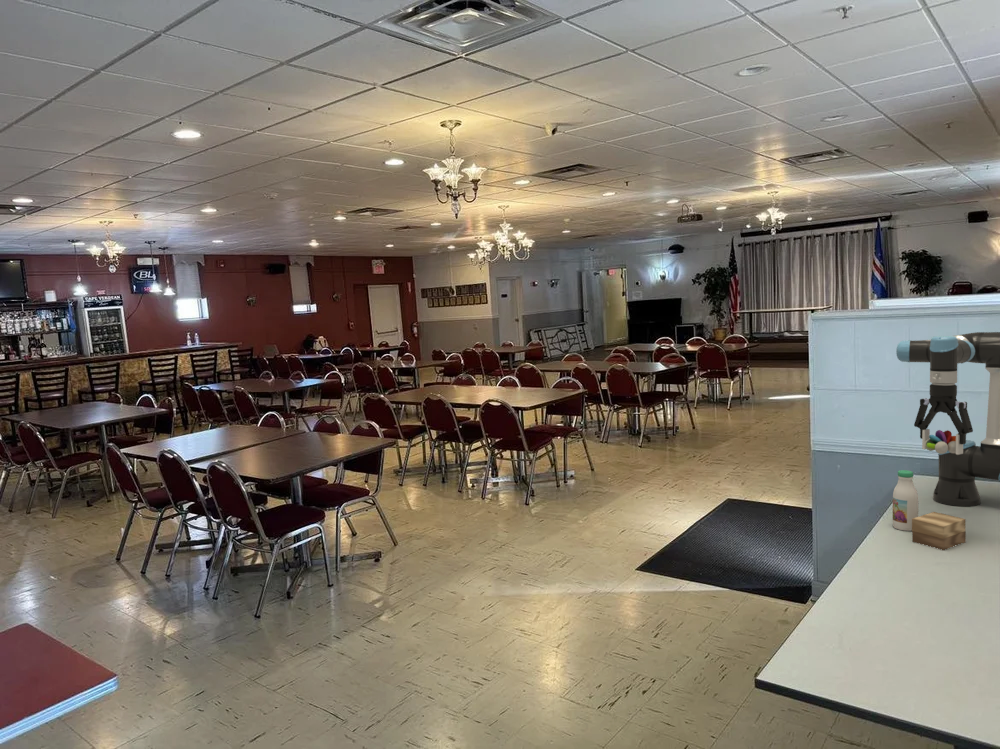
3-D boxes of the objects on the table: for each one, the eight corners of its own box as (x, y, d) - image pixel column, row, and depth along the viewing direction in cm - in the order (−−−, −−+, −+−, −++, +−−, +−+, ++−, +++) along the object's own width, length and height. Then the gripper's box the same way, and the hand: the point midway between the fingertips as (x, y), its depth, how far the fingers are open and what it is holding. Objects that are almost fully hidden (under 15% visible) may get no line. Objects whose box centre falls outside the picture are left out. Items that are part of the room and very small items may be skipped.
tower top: (934, 523, 234) (934, 511, 233) (965, 531, 225) (965, 519, 225) (912, 530, 228) (911, 518, 228) (943, 538, 219) (943, 526, 219)
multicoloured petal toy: (965, 454, 224) (966, 431, 224) (935, 455, 224) (935, 432, 224) (949, 449, 233) (949, 427, 232) (919, 450, 233) (920, 428, 232)
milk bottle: (911, 524, 245) (911, 468, 243) (922, 531, 237) (922, 473, 235) (888, 524, 246) (888, 469, 244) (898, 531, 238) (898, 474, 236)
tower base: (934, 535, 234) (934, 523, 234) (965, 543, 225) (965, 531, 225) (912, 542, 228) (912, 530, 228) (943, 551, 220) (943, 539, 219)
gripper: (902, 382, 235) (901, 447, 237) (973, 387, 215) (972, 458, 217) (915, 380, 238) (915, 444, 240) (987, 385, 218) (985, 455, 220)
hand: (942, 451), depth 228 cm, fingers closed on multicoloured petal toy, 10 cm apart
